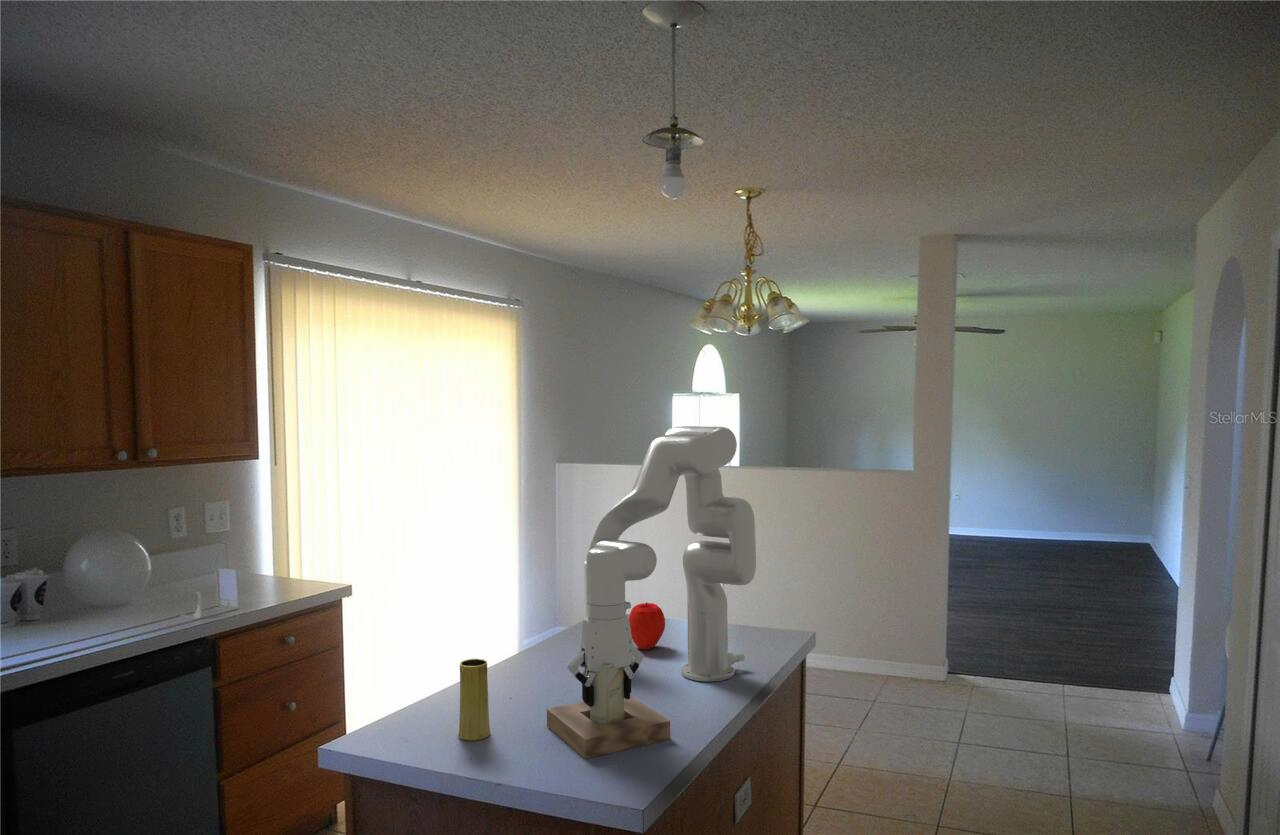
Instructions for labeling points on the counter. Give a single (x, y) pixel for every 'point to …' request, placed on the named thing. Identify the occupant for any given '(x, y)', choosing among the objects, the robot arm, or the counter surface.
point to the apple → (646, 625)
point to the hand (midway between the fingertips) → (607, 700)
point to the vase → (473, 700)
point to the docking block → (607, 728)
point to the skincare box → (608, 695)
